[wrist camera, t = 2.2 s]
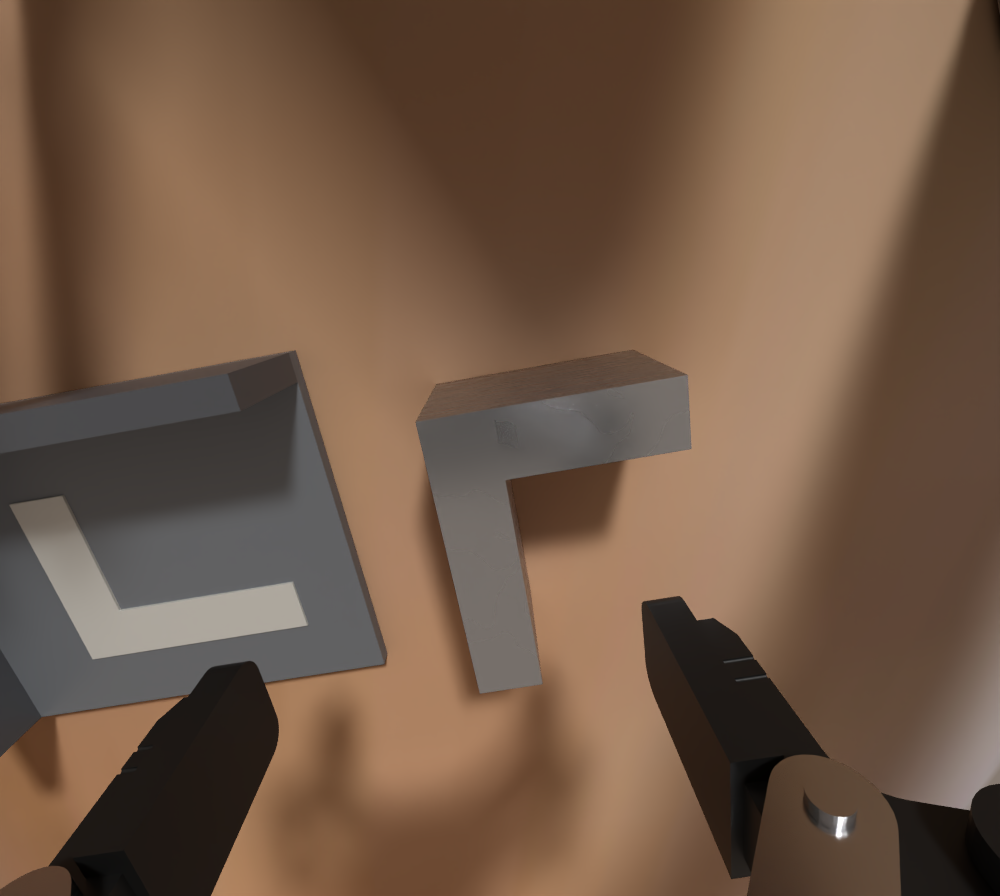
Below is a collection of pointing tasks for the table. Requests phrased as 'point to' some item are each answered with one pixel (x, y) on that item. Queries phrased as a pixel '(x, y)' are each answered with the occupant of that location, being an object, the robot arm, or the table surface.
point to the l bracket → (526, 452)
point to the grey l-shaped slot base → (171, 541)
